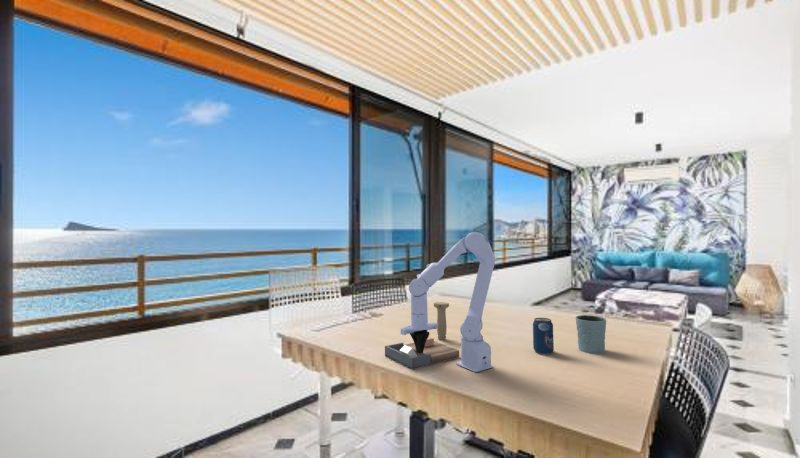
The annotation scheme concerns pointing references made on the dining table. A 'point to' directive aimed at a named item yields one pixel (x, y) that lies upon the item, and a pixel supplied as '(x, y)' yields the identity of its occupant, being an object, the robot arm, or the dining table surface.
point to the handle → (441, 319)
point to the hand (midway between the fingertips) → (419, 352)
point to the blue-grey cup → (591, 333)
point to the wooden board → (437, 352)
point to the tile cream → (408, 351)
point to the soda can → (543, 336)
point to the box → (406, 357)
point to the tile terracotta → (429, 341)
